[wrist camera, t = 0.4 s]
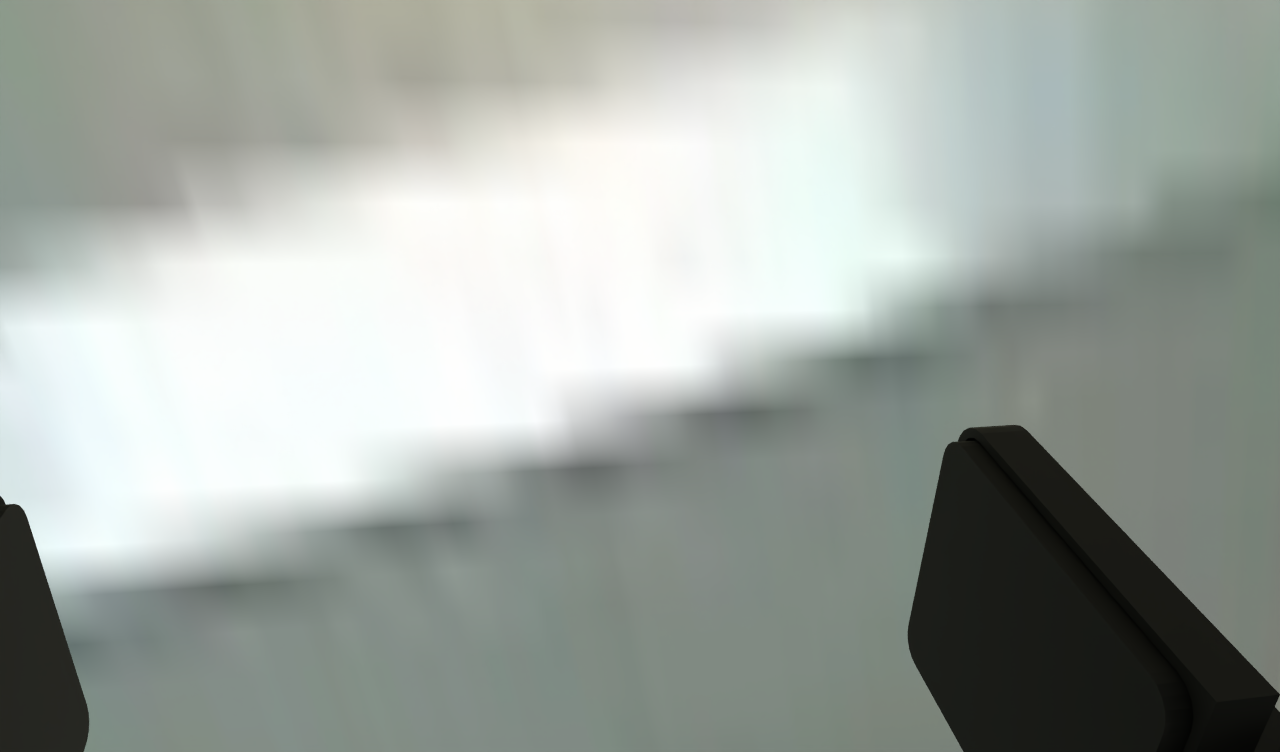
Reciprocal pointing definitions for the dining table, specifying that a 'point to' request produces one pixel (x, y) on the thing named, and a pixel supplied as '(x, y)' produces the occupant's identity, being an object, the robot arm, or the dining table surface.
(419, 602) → the dining table surface
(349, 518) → the dining table surface
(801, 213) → the dining table surface
